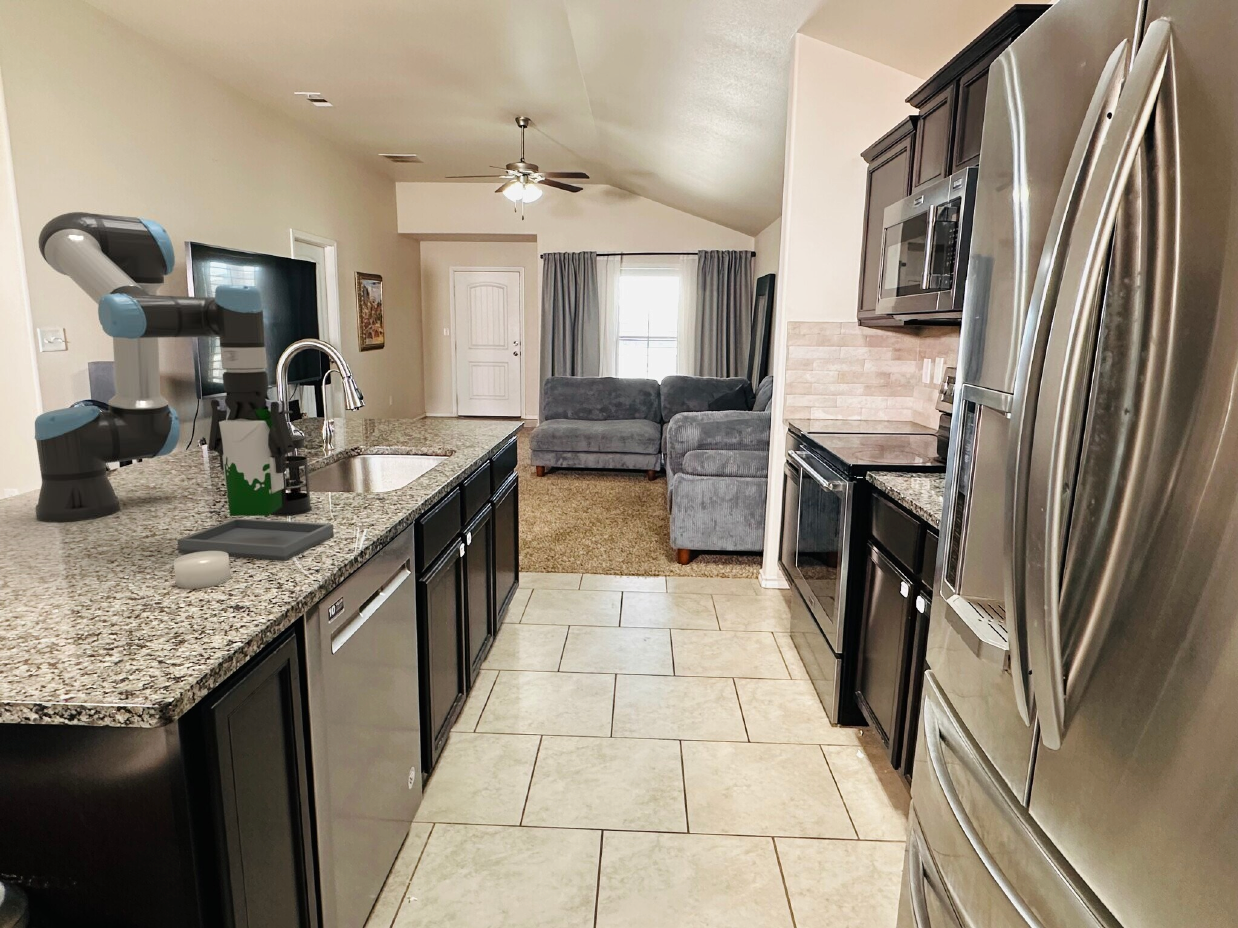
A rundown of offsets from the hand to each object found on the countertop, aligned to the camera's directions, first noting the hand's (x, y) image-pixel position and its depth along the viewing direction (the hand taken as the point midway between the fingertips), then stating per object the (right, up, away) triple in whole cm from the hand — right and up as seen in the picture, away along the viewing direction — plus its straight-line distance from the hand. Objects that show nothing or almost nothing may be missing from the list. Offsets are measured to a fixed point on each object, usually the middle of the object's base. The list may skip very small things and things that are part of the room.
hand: (254, 488), depth 142 cm
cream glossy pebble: (0, -15, -18) cm, 23 cm away
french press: (-6, -6, +28) cm, 29 cm away
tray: (0, -11, +2) cm, 11 cm away
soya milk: (0, -5, +1) cm, 5 cm away
